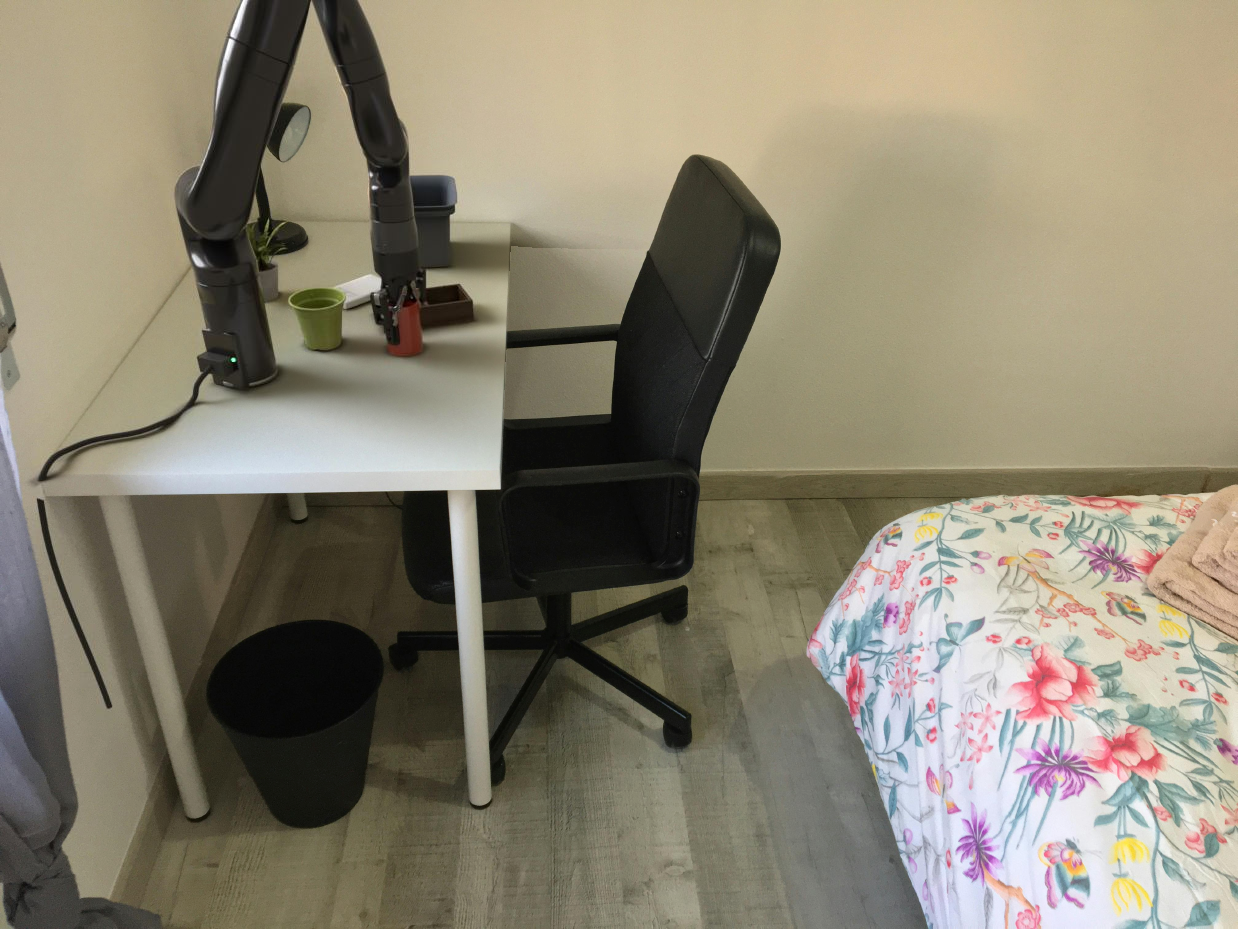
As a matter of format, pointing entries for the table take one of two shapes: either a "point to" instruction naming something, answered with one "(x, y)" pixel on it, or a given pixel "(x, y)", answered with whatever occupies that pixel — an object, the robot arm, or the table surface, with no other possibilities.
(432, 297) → the caddy
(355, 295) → the hard drive
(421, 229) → the storage bin
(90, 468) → the table surface
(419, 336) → the cup
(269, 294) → the house plant
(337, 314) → the plant pot
